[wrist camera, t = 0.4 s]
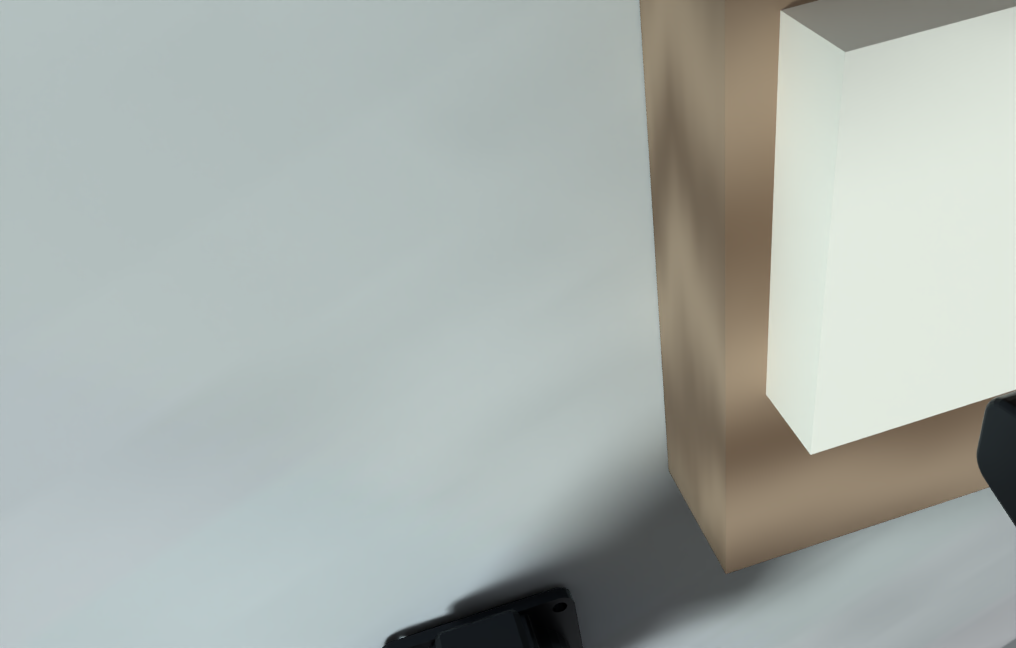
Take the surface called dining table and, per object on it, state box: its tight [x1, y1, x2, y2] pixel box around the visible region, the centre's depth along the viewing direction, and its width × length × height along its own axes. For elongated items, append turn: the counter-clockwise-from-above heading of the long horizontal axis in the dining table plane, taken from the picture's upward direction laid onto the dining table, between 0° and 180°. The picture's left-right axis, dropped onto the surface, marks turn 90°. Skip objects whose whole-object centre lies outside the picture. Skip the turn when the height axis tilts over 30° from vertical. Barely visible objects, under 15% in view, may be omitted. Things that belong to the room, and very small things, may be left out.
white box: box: [766, 0, 1016, 455], centre depth 17 cm, size 9×6×2 cm, turn 9°
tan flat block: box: [640, 0, 1016, 574], centre depth 20 cm, size 22×14×4 cm, turn 9°
